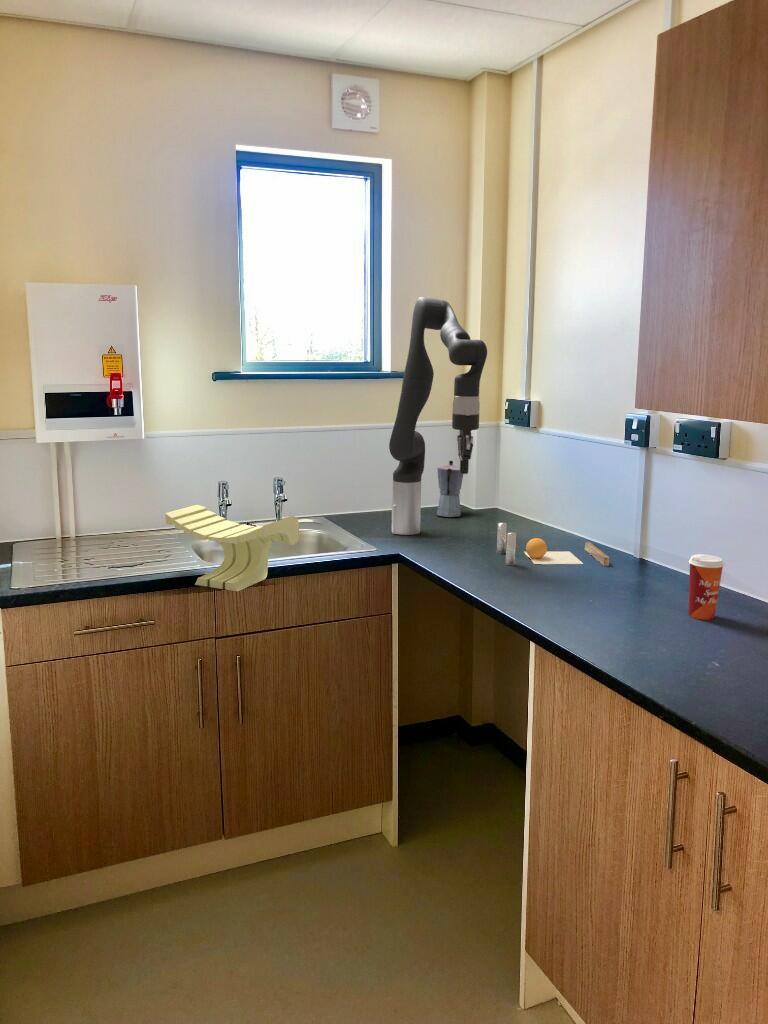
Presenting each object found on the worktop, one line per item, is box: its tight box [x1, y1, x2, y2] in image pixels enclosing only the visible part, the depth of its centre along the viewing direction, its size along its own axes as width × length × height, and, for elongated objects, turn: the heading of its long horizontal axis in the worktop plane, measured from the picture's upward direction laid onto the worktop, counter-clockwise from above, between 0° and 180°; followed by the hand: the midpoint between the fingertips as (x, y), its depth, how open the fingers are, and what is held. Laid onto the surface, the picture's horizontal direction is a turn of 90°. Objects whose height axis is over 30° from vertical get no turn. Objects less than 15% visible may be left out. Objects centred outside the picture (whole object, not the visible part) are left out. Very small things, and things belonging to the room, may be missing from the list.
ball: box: [525, 537, 548, 559], centre depth 243 cm, size 6×6×6 cm
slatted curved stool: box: [165, 504, 300, 592], centre depth 216 cm, size 30×16×18 cm, turn 65°
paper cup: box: [688, 553, 725, 621], centre depth 192 cm, size 8×8×14 cm
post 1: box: [496, 521, 508, 555], centre depth 248 cm, size 3×3×9 cm
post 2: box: [505, 531, 517, 566], centre depth 236 cm, size 3×3×9 cm
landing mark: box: [523, 550, 584, 565], centre depth 244 cm, size 14×14×1 cm
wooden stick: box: [584, 541, 610, 567], centre depth 244 cm, size 2×18×2 cm, turn 3°
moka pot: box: [436, 460, 464, 518], centre depth 299 cm, size 10×15×20 cm, turn 174°
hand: (463, 473), depth 237 cm, fingers closed
